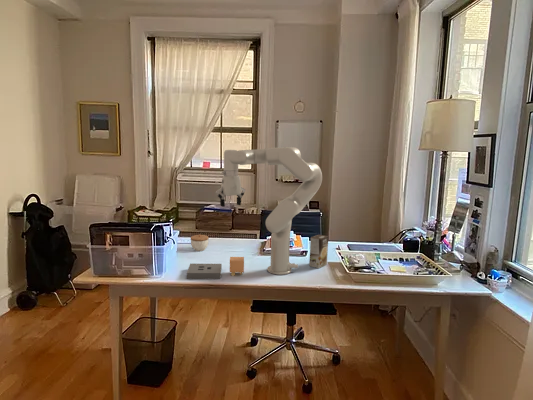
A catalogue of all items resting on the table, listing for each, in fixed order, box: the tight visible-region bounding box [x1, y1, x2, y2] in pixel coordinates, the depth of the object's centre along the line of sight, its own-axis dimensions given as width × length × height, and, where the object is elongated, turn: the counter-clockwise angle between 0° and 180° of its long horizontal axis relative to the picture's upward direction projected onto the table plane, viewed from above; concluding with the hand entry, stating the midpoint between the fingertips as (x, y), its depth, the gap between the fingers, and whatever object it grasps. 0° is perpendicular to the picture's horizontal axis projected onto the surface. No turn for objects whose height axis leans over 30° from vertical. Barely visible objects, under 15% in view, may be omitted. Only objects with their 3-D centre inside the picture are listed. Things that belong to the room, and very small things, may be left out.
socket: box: [186, 263, 223, 280], centre depth 196 cm, size 16×14×3 cm
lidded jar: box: [190, 234, 209, 252], centre depth 237 cm, size 11×11×9 cm
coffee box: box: [309, 234, 329, 269], centre depth 213 cm, size 9×6×16 cm
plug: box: [229, 256, 245, 277], centre depth 197 cm, size 7×6×8 cm
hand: (230, 205), depth 209 cm, fingers open, 9 cm apart
